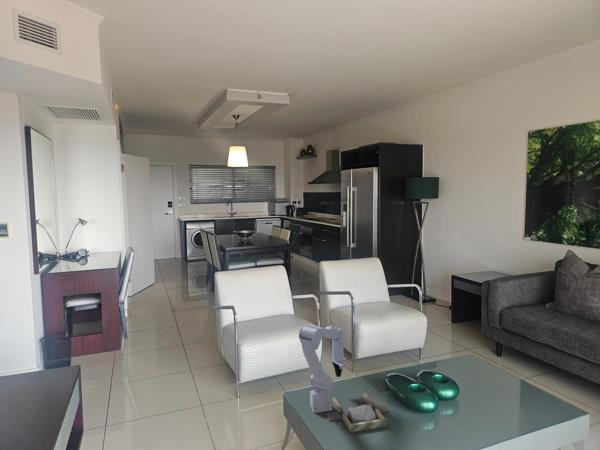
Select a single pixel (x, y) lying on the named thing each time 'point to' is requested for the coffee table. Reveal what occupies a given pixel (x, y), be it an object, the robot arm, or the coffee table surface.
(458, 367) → the coffee table surface
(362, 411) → the stone block
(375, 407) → the trap pits
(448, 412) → the coffee table surface
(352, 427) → the tan u-shaped piece
